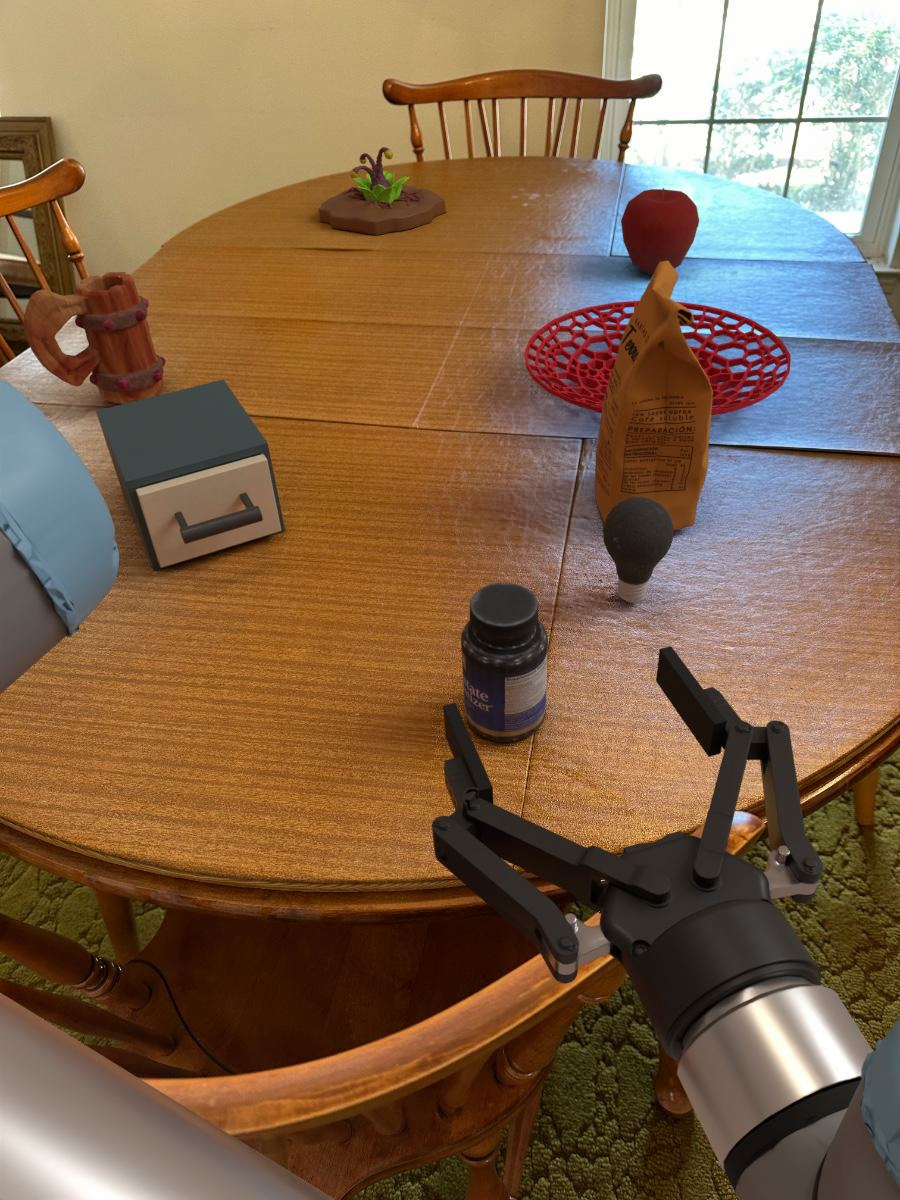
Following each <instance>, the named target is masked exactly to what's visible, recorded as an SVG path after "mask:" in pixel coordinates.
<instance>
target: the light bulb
mask: <svg viewBox="0 0 900 1200" xmlns="http://www.w3.org/2000/svg"><path fill="white" fill-rule="evenodd" d="M674 533H675V532H674V530H673V523H672V520H671V517H670V515H669V513H668V512H667V511H666V509H665V508H664V507H663V506H662V505H661V504H659V503H658V502H656V501H654V500H652V499H650V498H645V497H632V498H628V499H626V500H624V501H622V502H620V503H618V504H617V505H616V506H615V507H613V509H612V510H611V511H610V512H609V514H608V515H607V517H606V520H605V522H604V521H603V528H602V538H603V543H604V547H605V549H606V551H607V554H609V557H610V558H611V559H612V561H613V563H614V565H615V569H616V575H617V578H618V579H617V595H618V596H619V598H620V599H622V600H624V601H626V602H627V603H628V604H635V603H637V602H640V601H642V600H644V599H645V598H646V596H647V592H648V589H649V580H650V579H651V577H652V574H653V572H654V569H655V568H656V566H657V565H658V564H659V563H660V562H661V561H662V560H663V558H664V557H665V556H666V555H667V554H668V552H669V551H670V548H671V547H672V543H673V540H674V537H675V536H674V535H675V534H674Z"/></svg>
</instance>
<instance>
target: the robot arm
mask: <svg viewBox="0 0 900 1200" xmlns="http://www.w3.org/2000/svg"><path fill="white" fill-rule="evenodd" d="M115 538H116V528H115V524H114V520H113V517H112V516H111V512H110V510H109V507H108V505H107V503H106V500H105V499H104V496H103V494H102V492H101V491H100V488H99V487H98V484H97V482H96V481H95V479H94V478H93V475H92V474H91V472H90V471H89V469H88V468H87V466H86V464H85V463H84V461H83V460H82V458H81V457H80V455H79V454H78V453H77V452H76V450H75V449H74V448H73V446H72V445H71V443H70V442H69V441H68V440H67V439H66V438H65V436H64V435H63V434H62V432H61V431H60V429H58V428H57V426H56V425H55V424H54V423H53V422H52V421H51V420H50V419H49V418H48V417H47V415H46V414H45V413H44V412H43V411H42V410H41V409H40V408H39V407H38V406H37V405H36V404H34V402H33V401H31V400H30V399H29V398H28V397H27V396H26V395H25V394H23V392H22V391H20V390H19V389H17V387H16V386H14V385H12V384H11V383H10V382H9V381H7V380H5V379H1V378H0V695H1V694H2V693H4V692H5V691H6V690H8V688H10V687H11V685H13V684H14V683H15V682H16V681H18V679H20V678H21V677H22V676H23V675H24V674H25V673H26V672H28V671H29V670H30V669H31V668H32V667H33V666H35V664H36V663H38V662H39V661H40V660H41V659H42V658H43V657H44V656H46V655H47V654H48V653H49V652H50V651H52V649H54V647H56V646H57V645H58V644H59V643H60V642H62V641H63V640H64V639H65V638H66V637H67V638H72V636H74V635H75V634H77V633H78V632H79V631H80V626H81V625H82V624H83V623H84V622H85V620H87V618H88V617H89V616H90V615H91V614H92V613H93V611H95V609H96V608H97V607H98V606H99V605H100V604H101V603H102V602H103V600H104V599H105V598H106V597H107V596H108V594H109V593H110V591H111V590H112V588H113V586H114V584H115V582H116V580H117V575H118V572H119V566H120V565H119V563H120V552H119V551H120V550H119V549H118V543H117V542H116V539H115ZM657 659H658V660H657V668H656V677H655V682H656V684H657V685H658V687H659V688H660V690H661V691H662V692H663V694H664V695H665V697H666V698H667V700H668V701H669V702H670V703H671V705H672V706H673V708H674V709H675V711H676V712H677V714H678V715H679V717H680V718H681V719H682V721H683V723H684V724H685V725H686V727H687V728H688V730H689V731H690V733H691V734H692V736H693V737H694V738H695V740H696V741H697V742H698V744H699V746H701V748H702V750H703V752H704V753H705V754H706V755H707V757H708V758H711V757H714V756H718V755H720V754H721V753H722V749H723V755H722V759H721V762H720V765H719V769H718V773H717V777H716V781H715V785H714V789H713V792H712V797H711V800H710V803H709V807H708V811H707V814H706V817H705V822H704V825H703V829H702V833H701V837H699V836H695V835H693V834H684V832H683V831H682V830H678V831H675V832H671V833H668V834H666V835H664V836H663V837H661V838H659V839H658V840H656V841H654V842H643V843H636V844H633V845H628V846H626V847H623V852H622V854H620V855H618V854H615V853H612V852H610V851H608V850H606V849H604V848H602V847H599V846H597V845H590V846H587V847H586V846H583V845H582V844H579V843H577V842H575V841H572V840H571V839H569V838H567V837H565V836H562V835H560V834H558V833H556V832H553V830H550V829H547V828H545V827H543V826H541V825H539V824H537V823H534V822H532V821H530V820H528V819H526V818H524V817H522V816H520V815H518V814H515V813H514V812H511V811H509V810H507V809H504V808H503V807H500V806H498V805H496V804H494V786H493V785H492V782H491V780H490V778H489V775H488V773H487V770H486V768H485V766H484V764H483V762H482V760H481V757H480V754H479V753H478V750H477V748H476V745H475V744H474V741H473V739H472V737H471V734H470V732H469V730H468V728H467V726H466V724H465V721H464V719H463V716H462V714H461V712H460V709H459V707H458V705H457V703H456V702H451V703H449V704H444V705H442V710H443V723H444V733H445V734H444V735H445V740H446V742H447V745H448V747H449V750H450V752H451V755H452V757H453V758H450V759H445V760H444V762H443V773H444V784H445V788H446V790H447V793H448V795H449V798H450V800H451V803H452V805H453V809H454V811H453V812H452V813H451V814H449V815H441V816H440V815H439V816H437V817H436V818H434V819H433V821H432V823H431V831H432V841H433V850H434V857H435V859H436V860H437V862H439V863H440V864H441V865H442V866H443V867H444V868H445V869H446V870H447V871H449V872H450V873H451V874H452V875H453V876H455V877H456V878H457V879H458V880H459V881H460V882H462V883H463V884H464V885H465V886H466V887H468V889H470V891H472V892H473V893H474V894H476V896H478V897H479V898H480V899H481V900H482V901H483V902H485V904H487V905H488V907H490V908H491V909H492V910H493V911H495V912H496V913H497V914H498V915H499V916H501V917H502V918H503V919H504V920H505V921H506V922H507V923H509V924H510V925H511V926H512V927H513V928H514V929H516V931H518V932H519V933H520V934H521V935H522V936H524V938H526V939H527V940H528V941H530V942H531V943H532V944H533V945H534V946H535V947H536V949H537V950H538V952H539V954H540V956H541V957H542V959H543V961H544V963H545V965H546V966H547V969H548V970H549V972H550V973H551V975H552V977H553V978H554V979H555V981H557V982H559V983H561V984H571V983H573V982H574V981H575V980H576V979H577V976H578V971H579V969H578V968H580V967H582V966H584V965H586V964H588V963H590V962H592V961H595V960H597V959H600V958H602V957H604V956H605V955H610V956H611V957H612V958H613V959H614V960H616V962H618V963H619V964H620V965H621V966H622V967H623V968H624V970H625V972H626V973H627V975H628V978H629V980H630V982H631V985H632V987H633V989H634V991H635V994H636V995H637V997H638V999H639V1002H640V1003H641V1005H642V1007H643V1009H644V1011H645V1014H646V1015H647V1017H648V1019H649V1021H650V1024H651V1026H652V1027H653V1029H654V1031H655V1034H656V1036H657V1038H658V1040H659V1042H660V1045H661V1046H662V1048H663V1050H664V1052H665V1054H666V1055H667V1056H668V1057H670V1058H672V1059H674V1060H675V1061H677V1062H678V1065H677V1069H676V1075H677V1077H678V1080H679V1081H680V1083H681V1086H682V1087H683V1090H684V1092H685V1094H686V1097H687V1099H688V1100H689V1103H690V1104H691V1107H692V1108H693V1111H694V1112H695V1115H696V1117H697V1120H698V1121H699V1123H700V1125H701V1127H702V1130H703V1132H704V1134H705V1136H706V1138H707V1140H708V1142H709V1145H710V1146H711V1149H712V1151H713V1153H714V1155H715V1157H716V1158H717V1161H718V1163H719V1165H720V1167H721V1169H722V1171H723V1172H725V1175H726V1178H727V1180H728V1181H729V1184H730V1186H731V1188H732V1190H733V1192H734V1194H735V1195H736V1197H737V1199H738V1200H900V1016H899V1017H898V1019H897V1020H896V1022H895V1023H894V1024H893V1026H892V1027H891V1029H890V1030H888V1032H887V1033H886V1035H885V1036H884V1038H883V1039H879V1040H876V1042H875V1043H874V1048H875V1050H873V1048H872V1046H870V1043H869V1042H868V1040H867V1039H866V1037H865V1036H864V1034H863V1033H862V1032H861V1029H860V1028H859V1026H858V1025H857V1023H856V1022H855V1020H854V1018H853V1017H852V1015H851V1014H850V1012H849V1010H848V1009H847V1007H846V1006H845V1005H844V1003H843V1001H842V1000H841V998H840V996H839V995H838V994H837V992H836V991H835V990H834V989H832V988H830V987H826V986H823V985H821V984H822V982H821V981H822V971H821V970H820V967H819V966H818V964H817V962H816V961H815V960H814V958H813V957H812V955H811V954H810V953H809V951H808V949H807V948H806V946H805V945H804V943H803V942H802V941H801V938H800V937H799V935H798V934H797V933H796V931H795V929H793V926H792V925H791V924H790V922H789V921H788V919H787V918H786V916H785V915H784V913H783V912H782V911H781V910H780V908H778V907H777V906H776V905H774V903H773V900H777V899H782V898H787V897H790V899H791V900H792V901H794V902H796V903H797V904H800V905H806V904H810V903H811V902H812V901H813V900H814V897H815V895H816V892H817V888H818V886H819V883H820V880H821V876H822V874H823V871H824V864H823V860H821V858H820V856H819V854H818V852H817V851H816V849H815V848H814V845H813V844H812V842H811V840H810V839H809V836H807V833H806V829H805V823H804V816H803V810H802V804H801V796H800V789H799V784H798V776H797V771H796V764H795V757H794V751H793V744H792V738H791V730H790V727H789V725H788V724H786V723H785V722H783V721H781V720H776V719H775V720H770V721H768V722H767V724H766V726H756V725H755V726H754V725H752V724H751V723H750V722H747V721H745V720H742V719H741V717H740V716H739V714H738V713H737V712H736V711H735V710H734V707H732V706H731V705H730V703H729V702H728V700H727V699H726V698H725V696H724V695H723V693H721V691H720V690H718V689H717V688H715V687H713V686H710V687H706V688H703V687H702V686H701V684H700V683H699V681H698V680H697V679H696V677H695V676H694V674H693V673H692V672H691V670H690V669H689V668H688V667H687V665H686V664H685V663H684V661H683V660H682V659H681V657H680V656H679V655H678V653H677V652H676V651H675V650H674V648H673V646H671V645H670V646H666V647H662V648H659V653H658V658H657ZM748 761H759V765H760V772H761V782H762V791H763V799H764V807H765V816H766V826H767V833H768V841H769V843H768V844H769V850H770V853H769V854H768V858H767V862H766V865H765V870H764V871H763V870H762V869H760V868H759V867H757V866H756V865H754V864H752V863H750V862H748V861H746V860H744V859H743V858H741V857H738V856H737V855H734V854H733V853H731V852H729V851H727V847H728V843H729V839H728V838H730V834H731V830H732V825H733V822H734V818H735V813H736V808H737V804H738V801H739V795H740V792H741V788H742V784H743V783H742V782H743V779H744V775H745V771H746V766H747V762H748ZM509 863H510V864H512V865H514V866H515V867H518V868H519V869H522V870H523V871H525V872H528V873H530V874H532V875H533V876H536V877H538V878H540V879H541V880H544V881H546V882H548V883H550V884H552V885H553V886H556V887H558V888H560V889H562V890H564V891H566V892H568V893H570V894H572V895H573V896H574V897H575V898H576V900H577V901H578V903H580V904H581V905H583V906H585V907H586V908H588V909H591V910H592V911H594V912H596V913H598V912H599V911H600V912H599V914H600V917H599V924H598V925H594V926H592V925H591V926H590V925H586V924H585V923H584V922H582V920H580V919H579V918H578V917H577V916H576V914H574V913H572V912H569V913H566V914H565V915H564V914H563V911H561V909H560V907H558V906H557V905H556V904H555V902H554V901H553V900H552V899H550V897H548V895H546V894H545V893H544V892H543V891H542V890H541V889H539V888H538V887H537V886H535V885H534V884H533V883H532V882H531V881H529V880H528V879H527V878H526V877H524V876H523V875H522V873H520V872H519V871H517V870H516V869H515V868H514V867H512V866H511V865H510V864H509ZM602 880H604V881H606V882H608V883H607V886H606V885H604V884H603V883H602ZM0 1200H336V1199H335V1198H334V1197H332V1196H330V1195H329V1194H327V1193H326V1192H324V1191H322V1190H321V1189H319V1188H318V1187H316V1186H314V1185H312V1184H311V1183H309V1182H308V1181H306V1180H305V1179H303V1178H301V1177H300V1176H298V1175H296V1174H295V1173H293V1172H291V1171H290V1170H288V1169H287V1168H285V1167H283V1166H282V1165H280V1164H279V1163H277V1162H275V1161H273V1159H270V1158H268V1157H267V1156H266V1155H264V1154H263V1153H261V1152H259V1151H258V1150H256V1149H254V1148H253V1147H251V1146H250V1145H247V1144H246V1143H245V1142H243V1141H241V1140H239V1139H238V1138H236V1137H235V1136H233V1135H232V1134H230V1133H229V1132H227V1131H225V1130H223V1129H222V1128H221V1127H218V1126H217V1125H215V1124H214V1123H212V1122H210V1121H209V1120H207V1119H205V1118H204V1117H202V1116H201V1115H199V1114H198V1113H196V1112H194V1111H193V1110H191V1109H189V1108H188V1107H187V1106H184V1105H183V1104H182V1103H180V1102H178V1101H177V1100H175V1099H174V1098H172V1097H170V1096H169V1095H167V1094H165V1093H164V1092H162V1091H160V1090H159V1089H157V1088H155V1087H154V1086H152V1085H151V1084H149V1083H148V1082H145V1081H144V1080H142V1079H141V1078H139V1077H138V1076H136V1075H135V1074H133V1073H131V1072H129V1071H127V1070H126V1069H125V1068H123V1067H122V1066H120V1065H118V1064H116V1063H115V1062H113V1061H111V1060H110V1059H109V1058H107V1057H105V1056H104V1055H102V1054H100V1053H99V1052H97V1051H95V1050H94V1049H92V1048H91V1047H89V1046H88V1045H86V1044H84V1043H82V1042H81V1041H80V1040H78V1039H76V1038H75V1037H73V1036H71V1035H70V1034H69V1033H66V1032H64V1031H63V1030H61V1029H60V1028H58V1027H56V1026H55V1025H53V1024H52V1023H50V1022H48V1021H47V1020H45V1019H44V1018H42V1017H40V1016H39V1015H38V1014H35V1013H34V1012H32V1011H31V1010H29V1009H28V1008H26V1007H24V1006H22V1005H21V1004H19V1003H18V1002H17V1001H14V1000H13V999H12V998H9V997H8V996H6V995H5V994H3V993H1V992H0Z"/></svg>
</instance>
